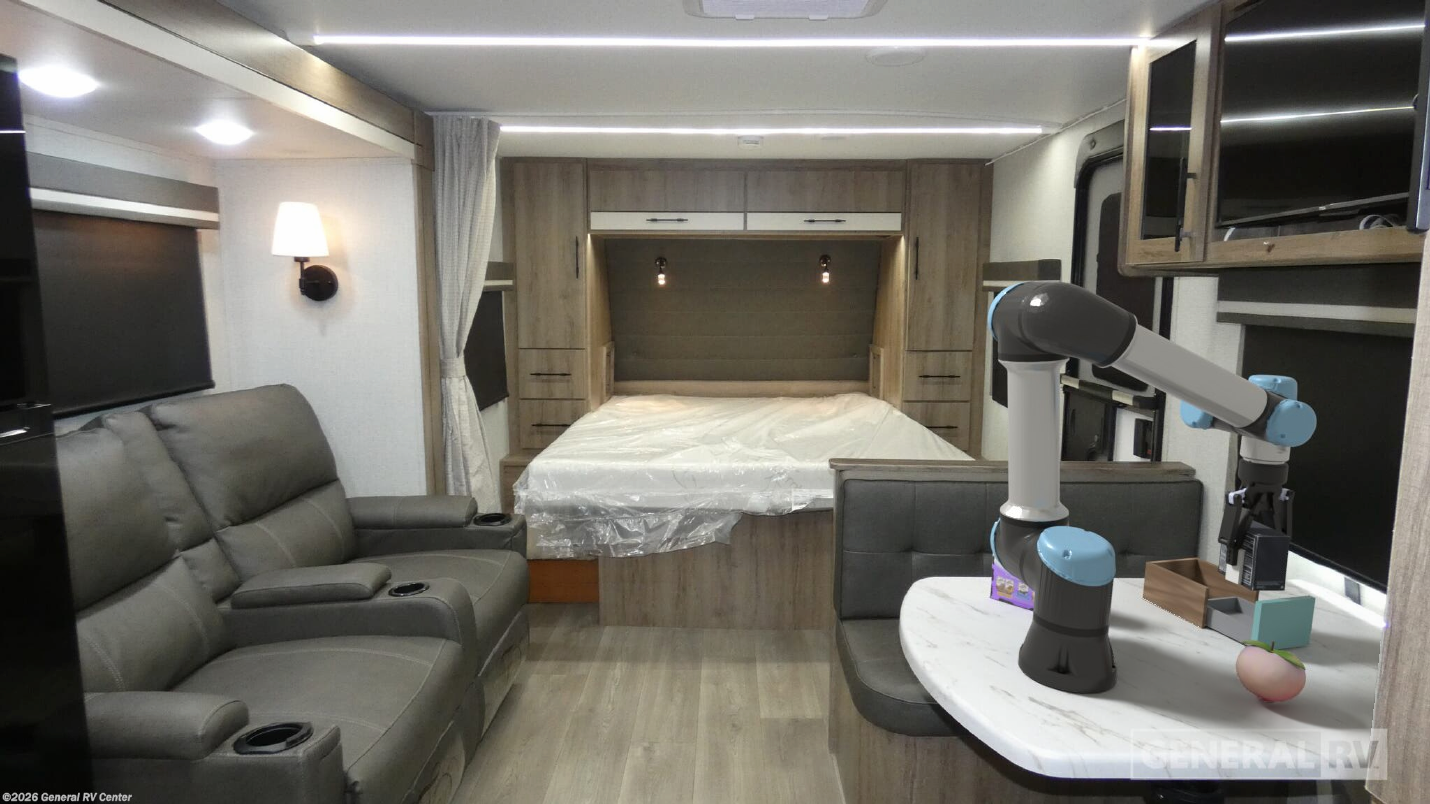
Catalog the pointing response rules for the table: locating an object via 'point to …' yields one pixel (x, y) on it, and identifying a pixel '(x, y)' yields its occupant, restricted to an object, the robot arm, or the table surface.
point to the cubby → (1189, 587)
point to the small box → (1262, 559)
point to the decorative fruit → (1270, 672)
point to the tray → (1263, 620)
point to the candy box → (1009, 587)
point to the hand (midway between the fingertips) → (1250, 579)
